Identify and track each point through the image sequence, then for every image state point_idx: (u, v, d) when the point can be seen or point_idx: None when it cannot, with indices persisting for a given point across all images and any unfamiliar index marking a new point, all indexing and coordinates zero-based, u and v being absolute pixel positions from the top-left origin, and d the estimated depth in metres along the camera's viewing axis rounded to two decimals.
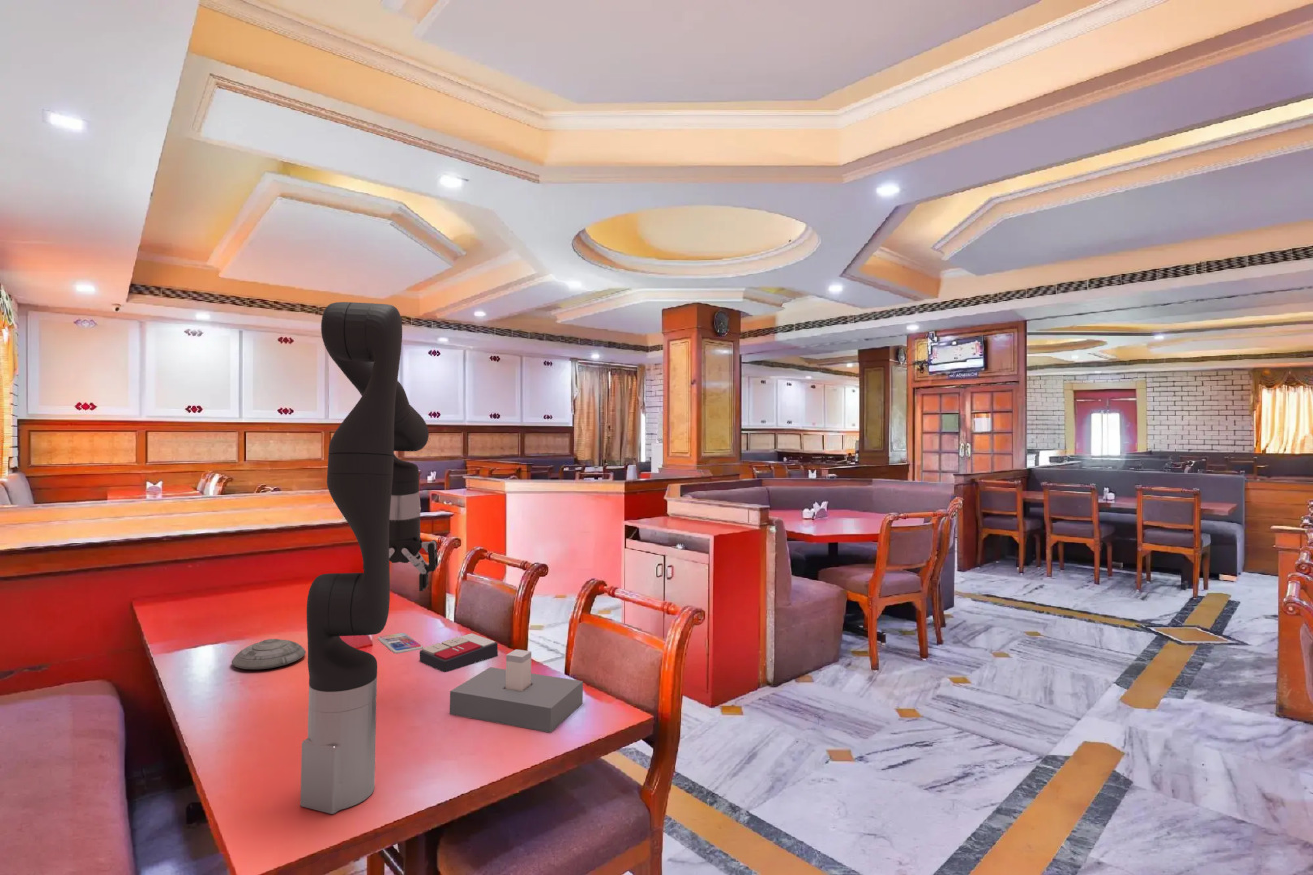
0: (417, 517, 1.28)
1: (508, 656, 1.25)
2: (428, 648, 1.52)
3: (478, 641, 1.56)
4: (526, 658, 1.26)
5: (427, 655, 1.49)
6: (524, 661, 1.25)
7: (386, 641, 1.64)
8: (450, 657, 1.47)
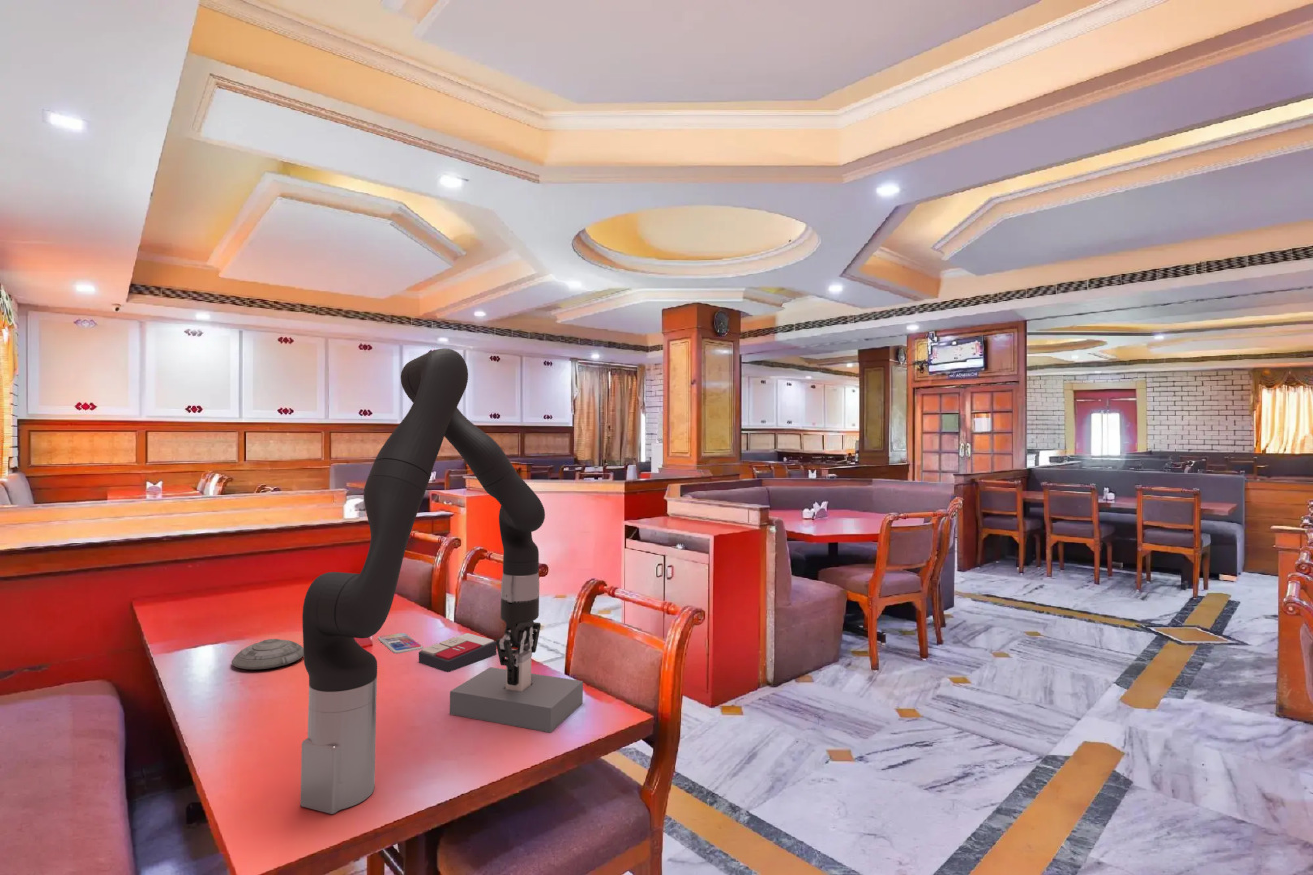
0: (506, 600, 1.23)
1: None
2: (427, 649, 1.51)
3: (477, 640, 1.57)
4: (526, 658, 1.26)
5: (428, 656, 1.49)
6: (524, 661, 1.25)
7: (386, 641, 1.64)
8: (453, 657, 1.47)
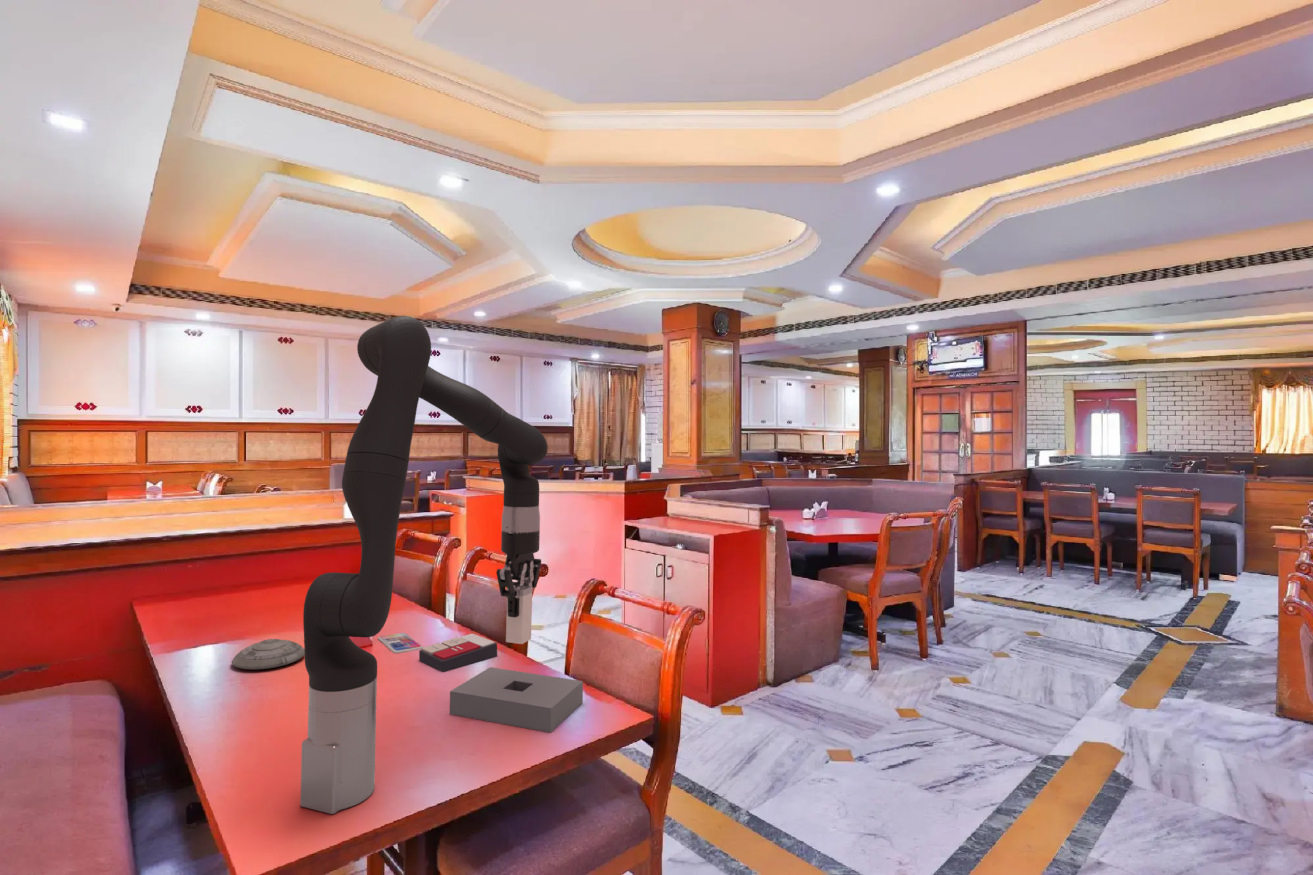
0: (506, 532, 1.23)
1: None
2: (427, 648, 1.52)
3: (478, 641, 1.56)
4: (527, 592, 1.26)
5: (426, 655, 1.49)
6: (525, 595, 1.25)
7: (386, 641, 1.64)
8: (448, 657, 1.46)
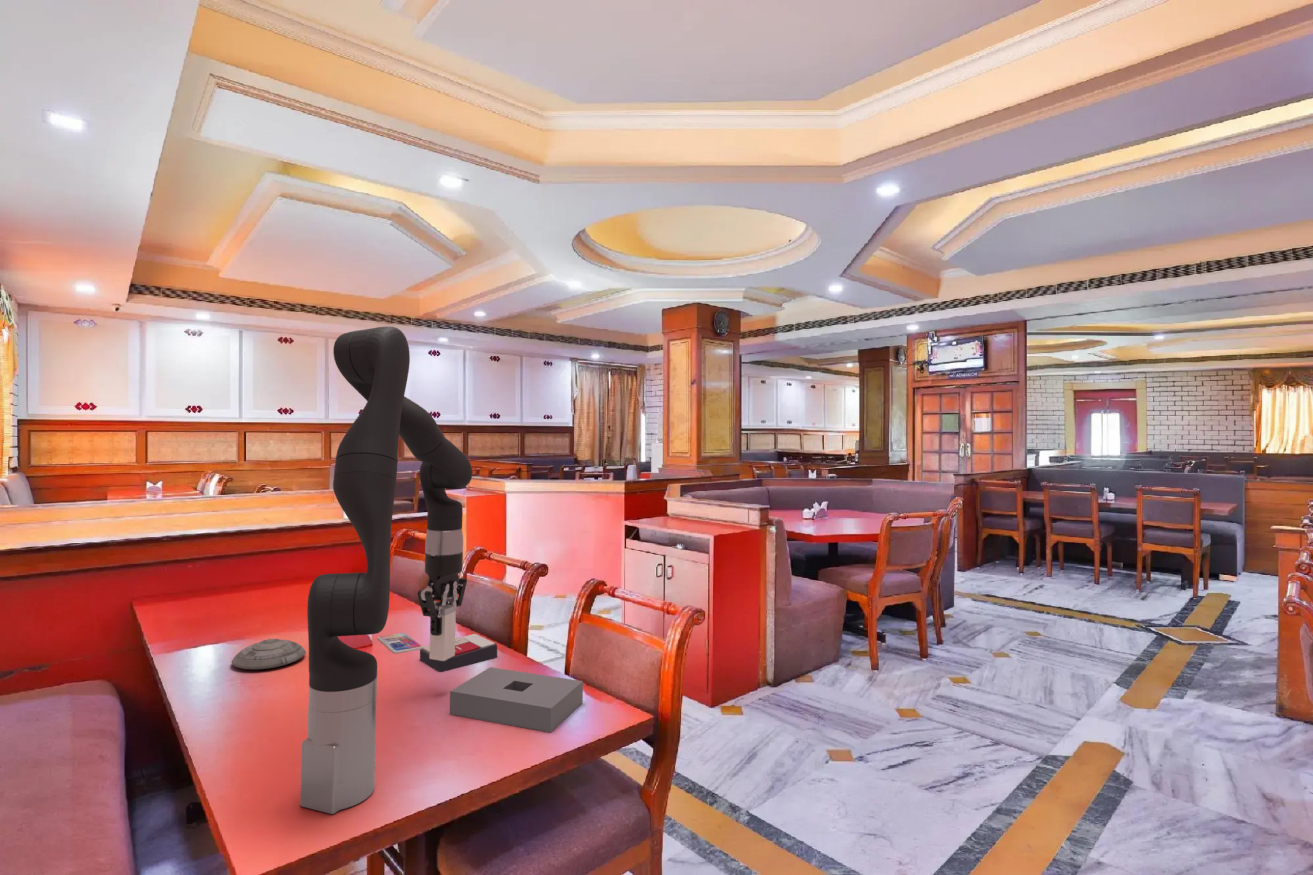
0: (428, 554, 1.29)
1: None
2: (428, 647, 1.52)
3: (478, 642, 1.56)
4: (449, 611, 1.31)
5: (426, 654, 1.50)
6: (447, 614, 1.31)
7: (386, 641, 1.64)
8: None
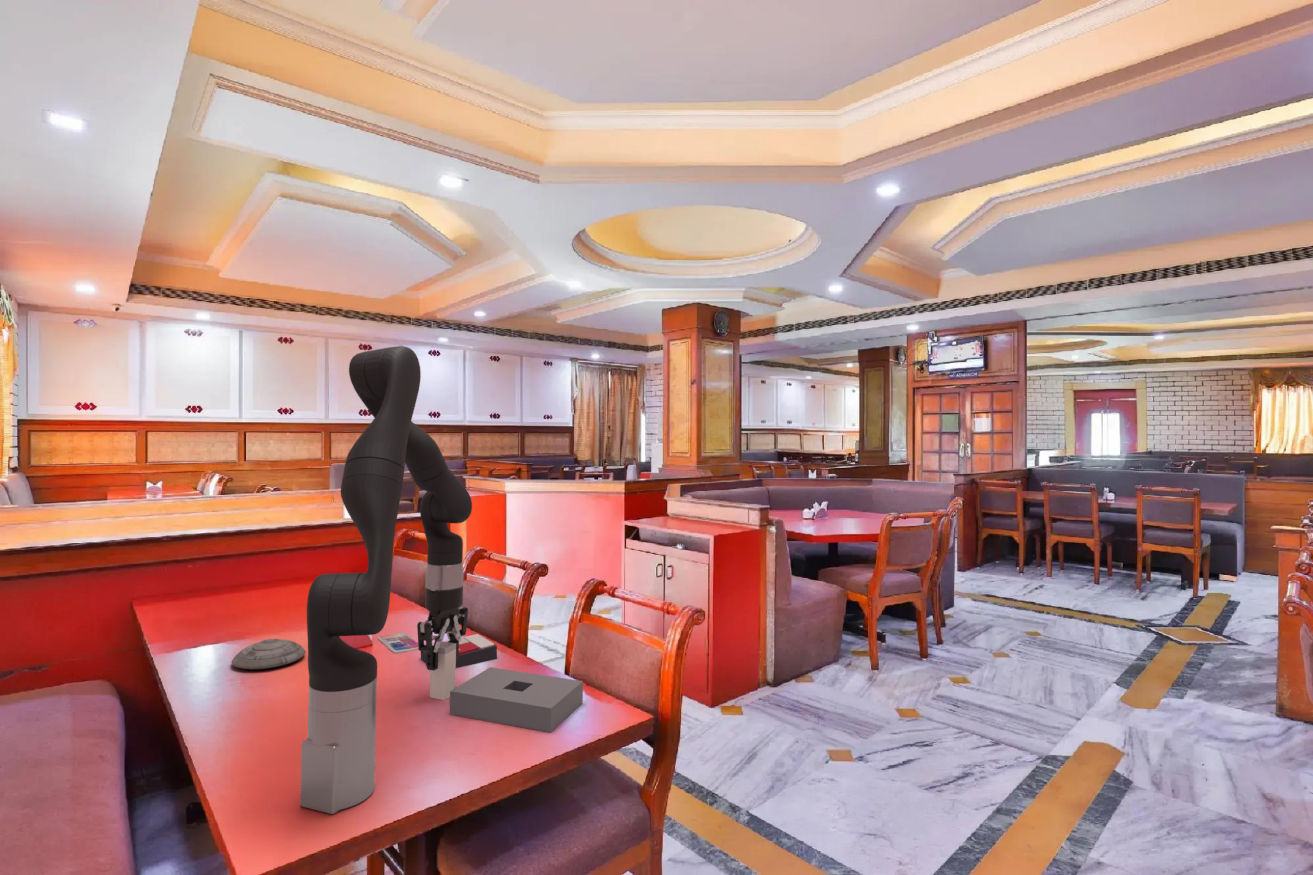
0: (429, 589, 1.29)
1: None
2: None
3: (478, 642, 1.55)
4: (449, 649, 1.31)
5: (425, 654, 1.50)
6: (447, 652, 1.31)
7: (386, 641, 1.64)
8: None
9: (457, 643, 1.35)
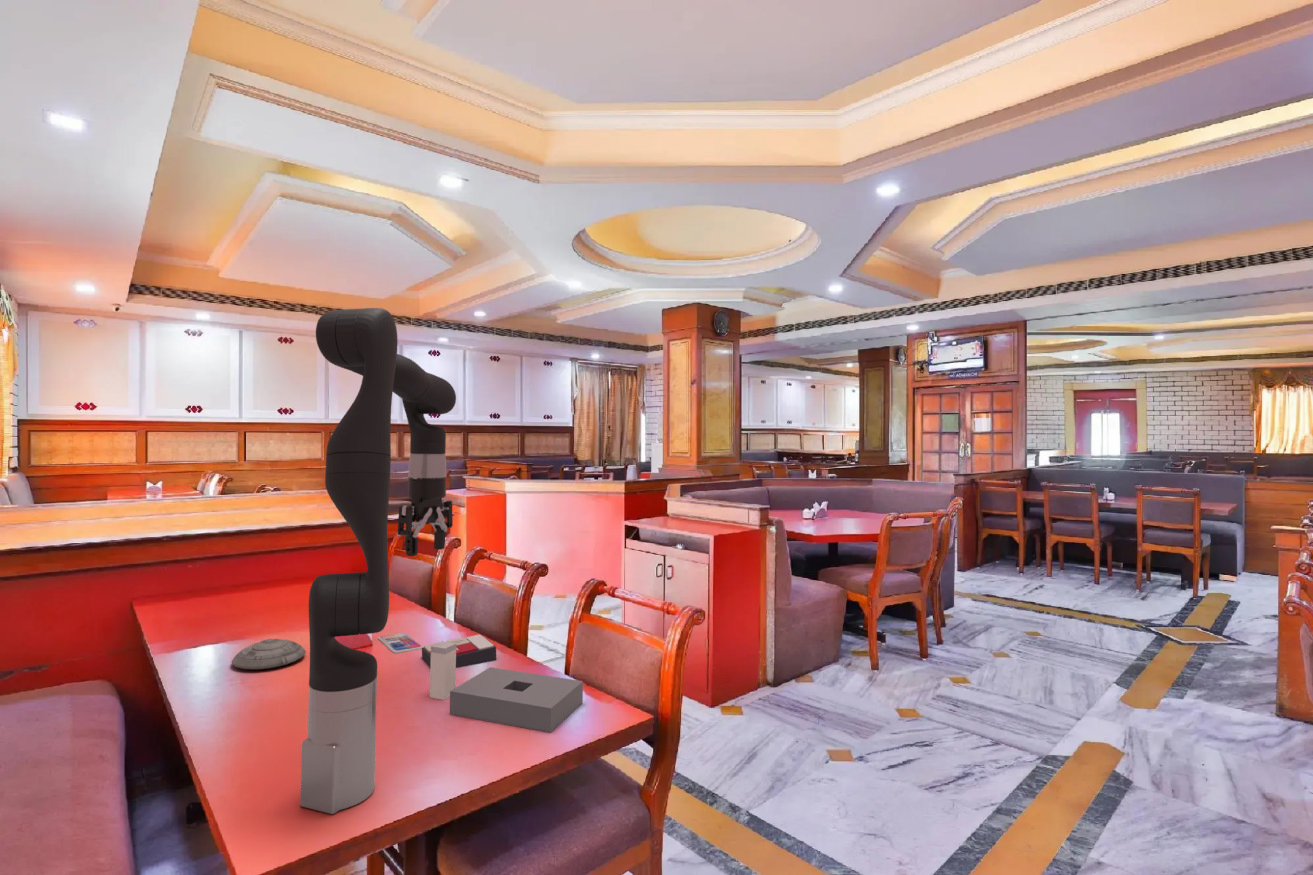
0: (411, 478, 1.30)
1: (432, 647, 1.31)
2: (429, 646, 1.53)
3: (478, 643, 1.55)
4: (450, 649, 1.31)
5: (425, 653, 1.51)
6: (447, 652, 1.31)
7: (386, 641, 1.64)
8: None
9: (443, 533, 1.36)
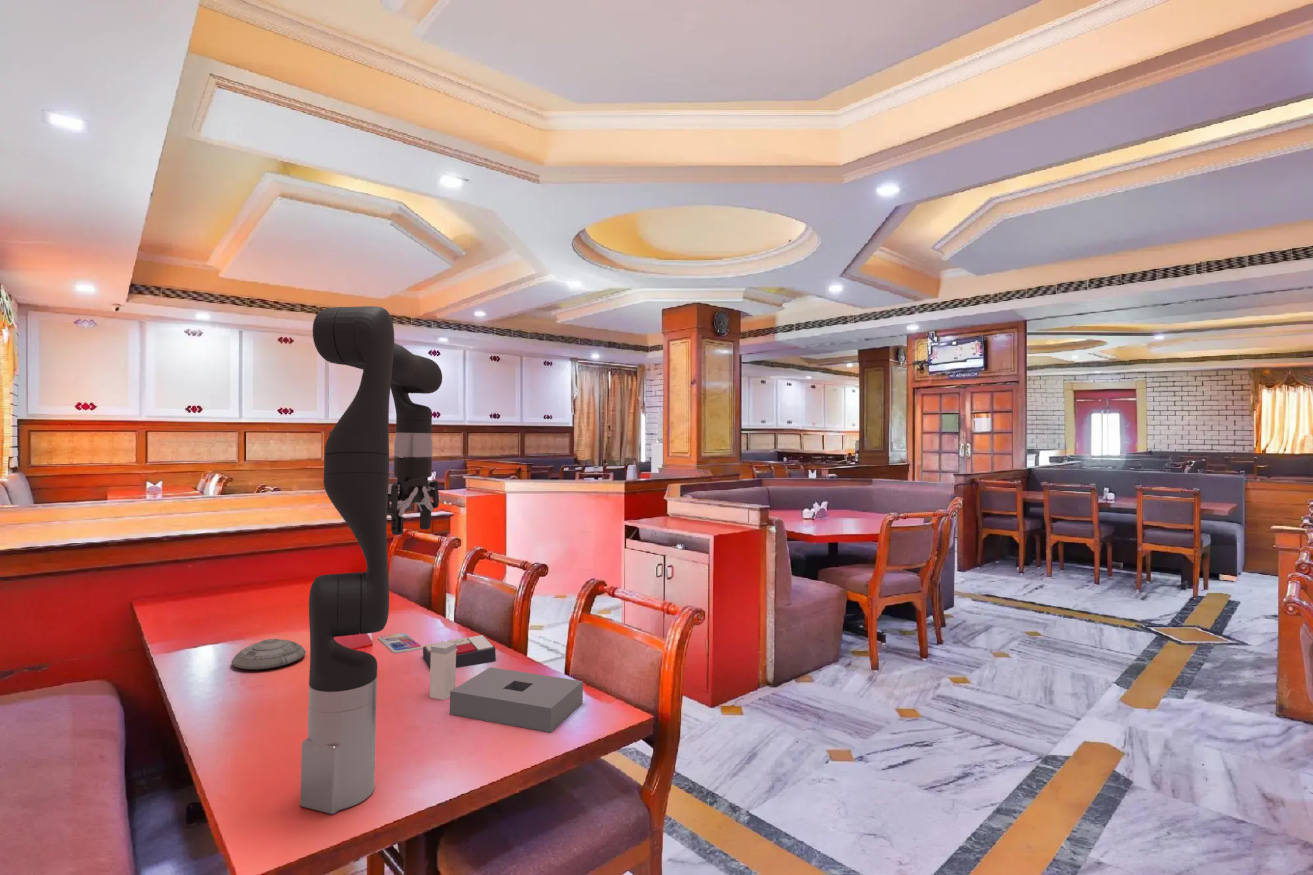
0: (397, 457, 1.29)
1: (432, 647, 1.31)
2: (430, 645, 1.54)
3: (478, 644, 1.54)
4: (450, 649, 1.31)
5: (425, 652, 1.51)
6: (447, 652, 1.31)
7: (386, 641, 1.64)
8: None
9: (429, 513, 1.36)
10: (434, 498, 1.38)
